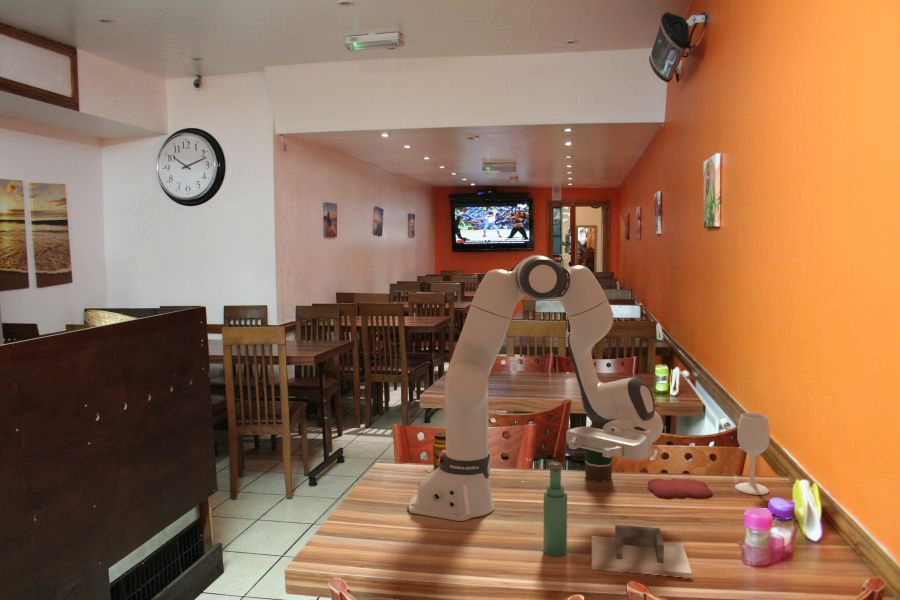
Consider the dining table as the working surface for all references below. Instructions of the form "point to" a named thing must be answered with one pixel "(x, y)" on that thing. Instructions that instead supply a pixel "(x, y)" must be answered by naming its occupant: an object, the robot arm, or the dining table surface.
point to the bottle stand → (639, 553)
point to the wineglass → (753, 446)
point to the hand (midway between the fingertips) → (587, 449)
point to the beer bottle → (597, 461)
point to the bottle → (555, 514)
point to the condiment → (438, 449)
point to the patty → (679, 488)
